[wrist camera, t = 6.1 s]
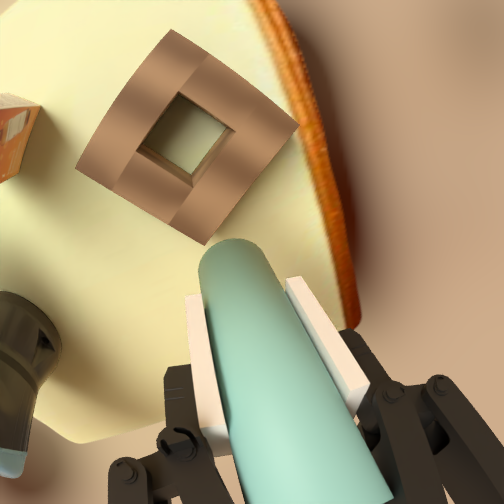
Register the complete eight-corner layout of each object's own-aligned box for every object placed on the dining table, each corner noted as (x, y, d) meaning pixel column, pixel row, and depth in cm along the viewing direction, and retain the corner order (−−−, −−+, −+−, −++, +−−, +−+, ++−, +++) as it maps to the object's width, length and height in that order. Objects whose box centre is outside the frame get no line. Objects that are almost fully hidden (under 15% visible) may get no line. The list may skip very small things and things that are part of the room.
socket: (200, 225, 31) (204, 245, 27) (90, 157, 25) (74, 168, 20) (281, 121, 28) (299, 125, 24) (172, 41, 21) (171, 28, 17)
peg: (236, 307, 18) (313, 532, 6) (184, 277, 16) (227, 550, 4) (280, 262, 17) (411, 488, 5) (228, 225, 15) (352, 516, 4)
